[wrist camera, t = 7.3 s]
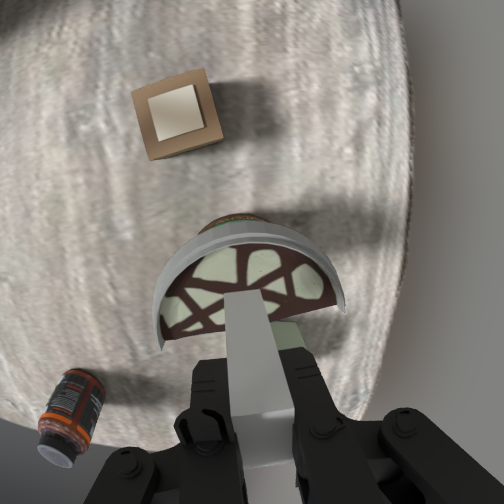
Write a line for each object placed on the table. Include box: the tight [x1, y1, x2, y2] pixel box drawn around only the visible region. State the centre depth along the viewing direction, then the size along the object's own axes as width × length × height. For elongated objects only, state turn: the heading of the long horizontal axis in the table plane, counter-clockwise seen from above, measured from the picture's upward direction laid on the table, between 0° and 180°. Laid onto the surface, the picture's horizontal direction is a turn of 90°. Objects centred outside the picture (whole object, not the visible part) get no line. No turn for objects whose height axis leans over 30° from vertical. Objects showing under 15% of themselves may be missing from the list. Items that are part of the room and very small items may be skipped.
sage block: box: [270, 321, 308, 350], centre depth 26 cm, size 5×5×6 cm
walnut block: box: [131, 68, 224, 161], centre depth 20 cm, size 5×5×5 cm
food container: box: [152, 214, 346, 351], centre depth 21 cm, size 12×6×10 cm, turn 101°
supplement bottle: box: [38, 370, 105, 468], centre depth 24 cm, size 6×6×11 cm
